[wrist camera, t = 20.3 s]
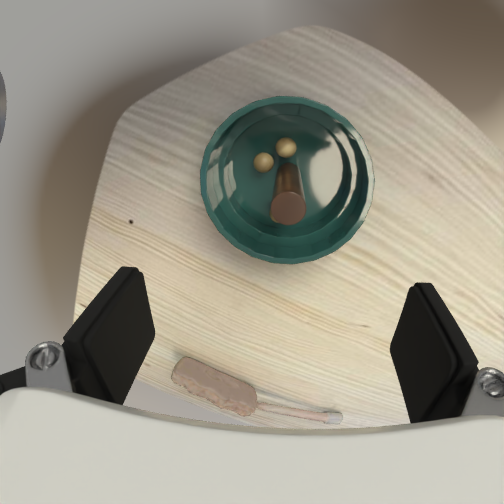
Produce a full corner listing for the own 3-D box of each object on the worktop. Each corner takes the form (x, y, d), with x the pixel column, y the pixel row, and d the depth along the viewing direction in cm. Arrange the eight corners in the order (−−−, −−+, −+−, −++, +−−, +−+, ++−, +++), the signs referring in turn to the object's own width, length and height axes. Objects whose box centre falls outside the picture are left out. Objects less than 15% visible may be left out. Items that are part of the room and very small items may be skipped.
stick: (271, 173, 30) (262, 207, 21) (289, 157, 29) (289, 184, 20) (287, 190, 31) (287, 232, 21) (305, 175, 30) (313, 210, 20)
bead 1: (264, 149, 30) (259, 147, 28) (279, 161, 30) (276, 160, 28) (252, 164, 30) (246, 164, 28) (267, 176, 30) (263, 177, 28)
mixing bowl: (185, 169, 32) (167, 182, 27) (290, 68, 26) (290, 60, 21) (282, 264, 36) (281, 291, 31) (388, 180, 30) (405, 195, 25)
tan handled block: (353, 417, 44) (171, 385, 37) (339, 430, 46) (164, 403, 39) (341, 385, 51) (176, 349, 44) (329, 400, 52) (170, 367, 46)
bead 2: (266, 205, 30) (268, 225, 31) (287, 204, 30) (288, 224, 30) (270, 202, 32) (272, 220, 33) (289, 201, 31) (290, 220, 32)
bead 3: (289, 161, 29) (275, 147, 30) (303, 147, 28) (288, 133, 29) (282, 162, 28) (268, 147, 28) (297, 147, 27) (282, 132, 27)
